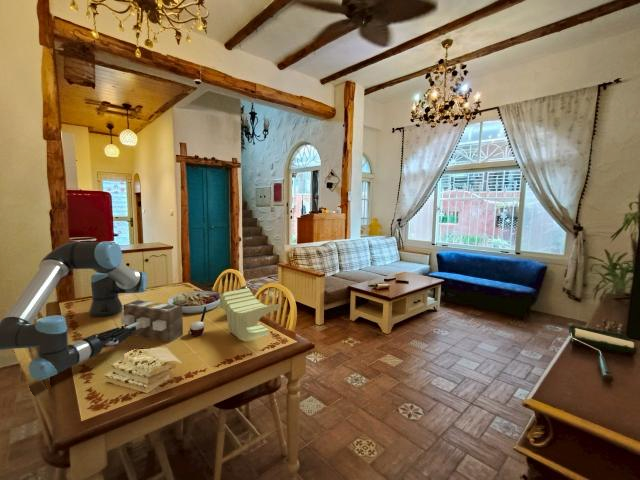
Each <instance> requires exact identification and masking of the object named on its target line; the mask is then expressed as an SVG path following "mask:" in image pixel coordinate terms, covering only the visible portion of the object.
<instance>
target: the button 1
mask: <svg viewBox="0 0 640 480" xmlns="http://www.w3.org/2000/svg"><path fill="white" fill-rule="evenodd" d="M133 323H135V315H129V314H127V315H124V314H123V315H122V316H120V324H121V325H124V324H125V325H130V324H133Z"/></svg>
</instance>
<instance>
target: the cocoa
mask: <svg viewBox="0 0 640 480" xmlns="http://www.w3.org/2000/svg"><path fill="white" fill-rule="evenodd" d="M206 312H207V311H206V307H204V310H203V312H202V314H201V317H200V321H195V322H192V323H191V324H189V330H188V332H187V334H188V335H190V336H194V337H199V336H201V335H202V334H204V331H205V322H204V318H205V315H206Z"/></svg>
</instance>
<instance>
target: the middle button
mask: <svg viewBox="0 0 640 480" xmlns="http://www.w3.org/2000/svg"><path fill="white" fill-rule="evenodd" d="M136 321H137V322H141V328H146V327H148V326H150V318H146V317H141V318H139V319H136Z"/></svg>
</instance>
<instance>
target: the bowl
mask: <svg viewBox="0 0 640 480" xmlns="http://www.w3.org/2000/svg"><path fill="white" fill-rule="evenodd" d="M221 295H222V294H220V293H218V292H215V291H209V290H197V291H194V290H193V291H187V292H186V291H185V292H182V293H179V294H175V295H173V296H171V297H169V298H168V299H167V302H166V304H169V305H176V306H182V314H187V315H188V314H190V315H191V314H199V313H203V310H204V307H206V312H208V311H211V310H213V309H215V308H217V307H218V306H220V297H221Z"/></svg>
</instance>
